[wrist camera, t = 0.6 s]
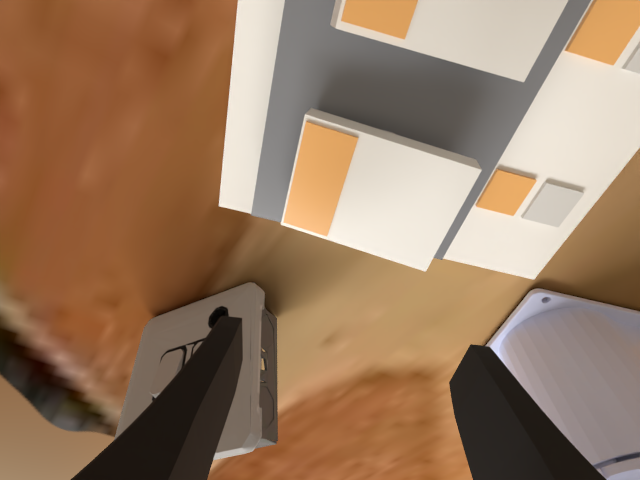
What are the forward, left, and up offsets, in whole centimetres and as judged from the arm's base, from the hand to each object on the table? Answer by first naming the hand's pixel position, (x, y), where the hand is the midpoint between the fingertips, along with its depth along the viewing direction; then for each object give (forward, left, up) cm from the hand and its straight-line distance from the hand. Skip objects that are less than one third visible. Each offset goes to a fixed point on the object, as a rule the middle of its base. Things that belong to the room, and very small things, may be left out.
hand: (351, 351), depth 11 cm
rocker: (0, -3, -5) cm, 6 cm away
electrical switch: (+6, +11, -10) cm, 16 cm away
